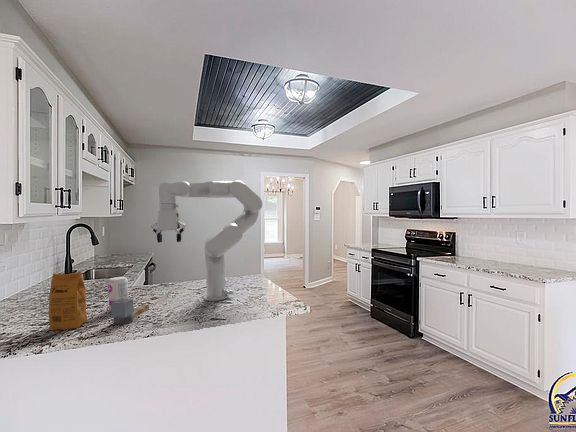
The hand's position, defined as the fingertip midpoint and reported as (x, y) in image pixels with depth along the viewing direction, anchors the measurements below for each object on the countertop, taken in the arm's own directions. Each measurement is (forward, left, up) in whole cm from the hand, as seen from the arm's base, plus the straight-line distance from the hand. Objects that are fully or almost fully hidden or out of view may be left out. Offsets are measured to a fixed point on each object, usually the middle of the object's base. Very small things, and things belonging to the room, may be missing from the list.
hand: (169, 242), depth 155 cm
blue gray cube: (+9, +26, -27) cm, 39 cm away
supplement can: (+21, +10, -31) cm, 38 cm away
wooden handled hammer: (+9, +19, -30) cm, 37 cm away
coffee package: (+30, +30, -31) cm, 52 cm away
